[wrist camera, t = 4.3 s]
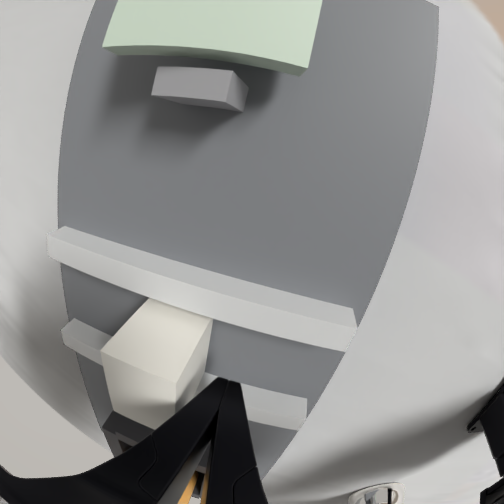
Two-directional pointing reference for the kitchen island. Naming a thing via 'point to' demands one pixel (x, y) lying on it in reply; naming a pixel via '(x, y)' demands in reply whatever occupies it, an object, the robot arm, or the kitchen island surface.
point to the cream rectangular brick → (156, 362)
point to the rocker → (218, 31)
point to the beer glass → (379, 494)
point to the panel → (241, 203)
